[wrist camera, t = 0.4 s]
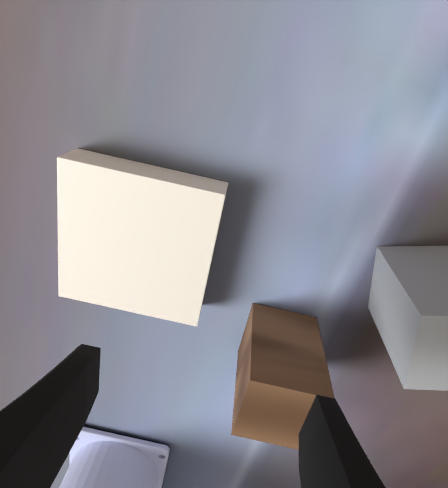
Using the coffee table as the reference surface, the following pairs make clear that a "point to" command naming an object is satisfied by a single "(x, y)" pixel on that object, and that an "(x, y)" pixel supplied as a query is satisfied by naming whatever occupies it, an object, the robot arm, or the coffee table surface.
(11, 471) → the robot arm
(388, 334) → the grey rectangular block
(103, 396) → the coffee table surface
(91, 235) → the cream slab
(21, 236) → the coffee table surface
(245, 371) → the walnut block
